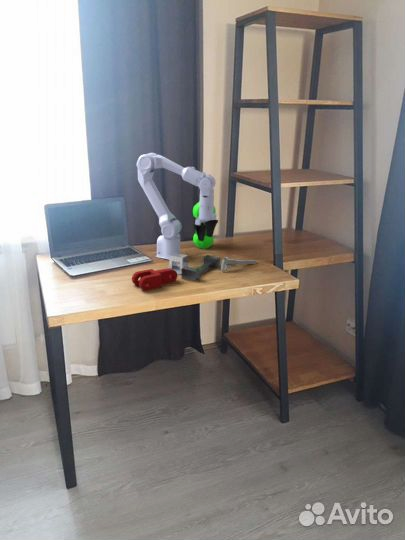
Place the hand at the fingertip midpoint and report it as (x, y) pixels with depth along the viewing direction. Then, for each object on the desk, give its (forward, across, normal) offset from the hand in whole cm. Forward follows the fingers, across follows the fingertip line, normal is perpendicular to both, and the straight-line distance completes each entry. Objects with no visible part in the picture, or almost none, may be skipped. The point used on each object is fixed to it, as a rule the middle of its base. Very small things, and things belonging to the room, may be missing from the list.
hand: (205, 238), depth 186 cm
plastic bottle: (+10, +17, +10) cm, 22 cm away
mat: (+9, -16, +4) cm, 19 cm away
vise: (+9, -14, -6) cm, 18 cm away
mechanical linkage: (+10, -34, +1) cm, 35 cm away
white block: (+9, -16, +3) cm, 19 cm away
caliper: (+10, 0, -16) cm, 19 cm away
